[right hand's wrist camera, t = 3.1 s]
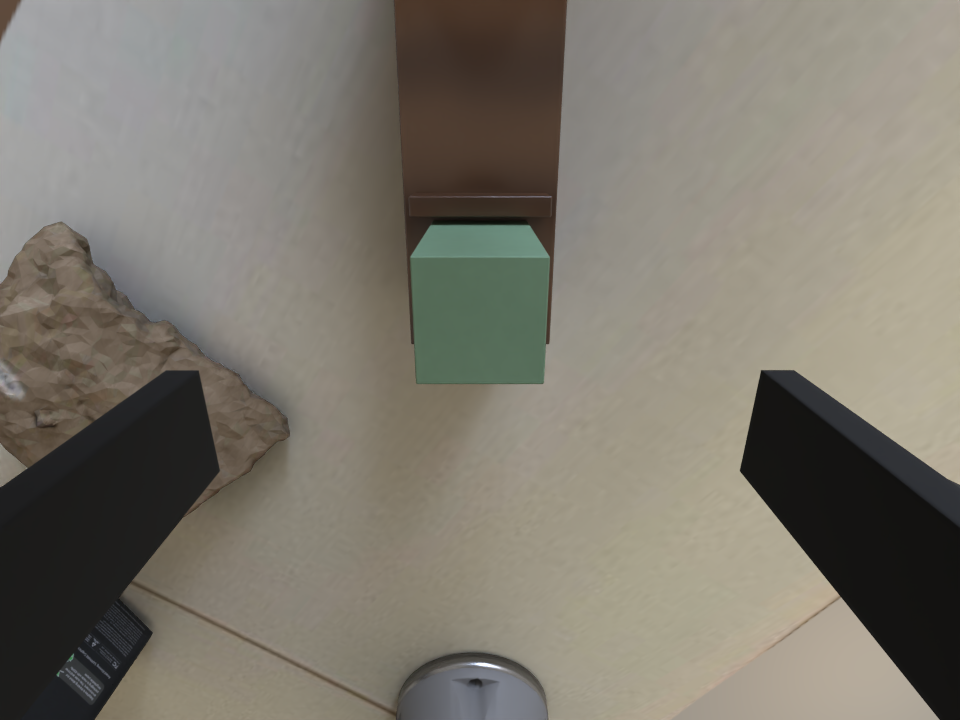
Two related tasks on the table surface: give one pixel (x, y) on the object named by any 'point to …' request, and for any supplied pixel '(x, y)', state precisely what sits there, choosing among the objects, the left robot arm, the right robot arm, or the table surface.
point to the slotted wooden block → (480, 114)
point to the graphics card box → (93, 668)
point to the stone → (103, 360)
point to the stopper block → (479, 303)
